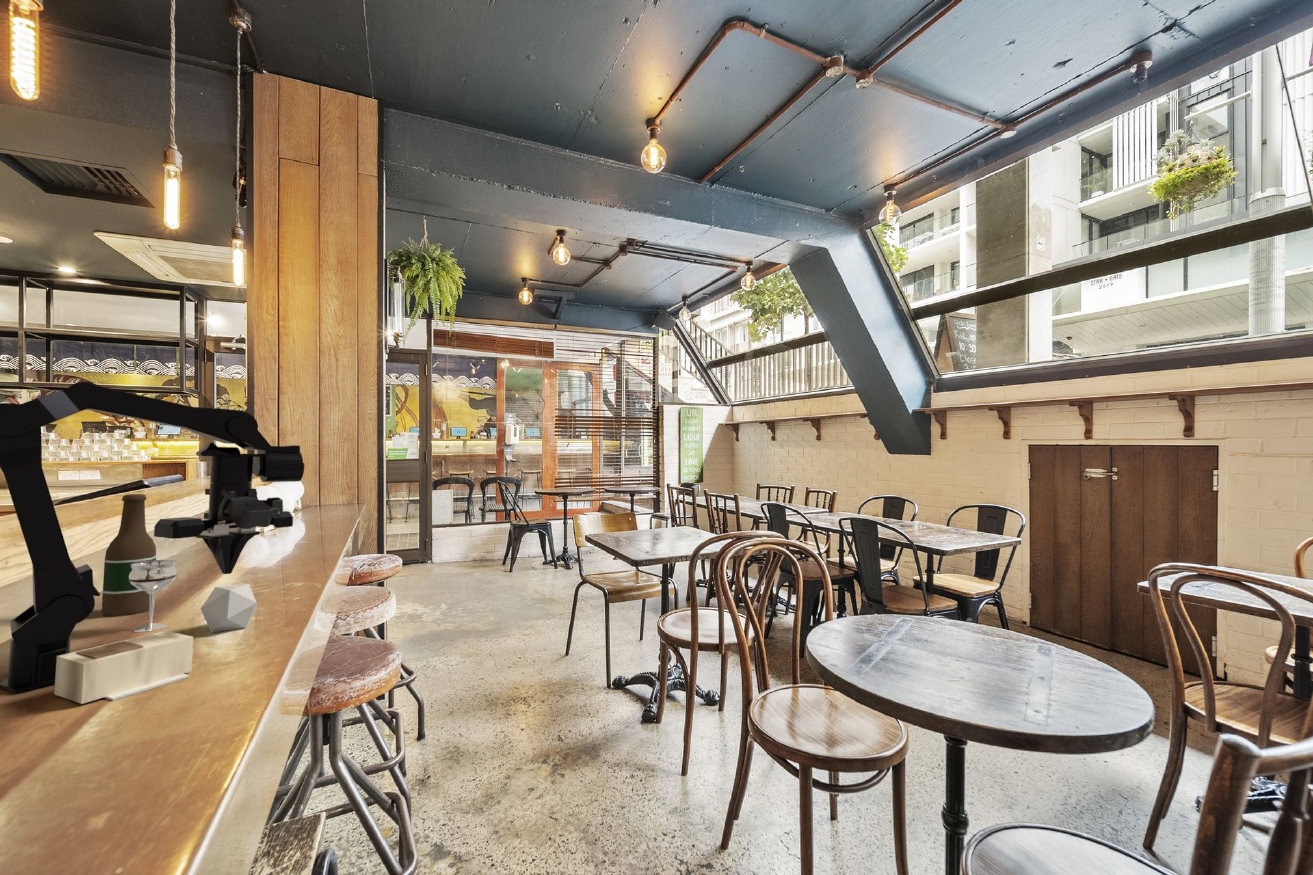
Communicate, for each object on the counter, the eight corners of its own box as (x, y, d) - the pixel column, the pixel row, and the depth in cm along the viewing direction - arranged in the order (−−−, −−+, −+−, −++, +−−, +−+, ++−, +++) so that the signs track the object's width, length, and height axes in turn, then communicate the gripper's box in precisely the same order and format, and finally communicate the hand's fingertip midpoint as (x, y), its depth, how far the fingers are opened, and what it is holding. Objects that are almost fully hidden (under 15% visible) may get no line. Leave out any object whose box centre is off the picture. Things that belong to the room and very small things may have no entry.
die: (261, 622, 108) (233, 583, 108) (275, 607, 103) (245, 566, 103) (215, 648, 101) (185, 607, 101) (227, 634, 96) (195, 590, 96)
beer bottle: (148, 604, 117) (154, 492, 118) (158, 610, 112) (164, 494, 113) (97, 612, 111) (104, 494, 112) (105, 619, 106) (112, 496, 107)
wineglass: (182, 621, 106) (185, 558, 106) (163, 631, 99) (166, 565, 100) (138, 623, 103) (142, 560, 104) (116, 634, 97) (120, 567, 98)
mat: (73, 687, 75) (74, 685, 75) (150, 666, 83) (150, 664, 83) (112, 700, 71) (112, 698, 71) (189, 677, 79) (189, 675, 79)
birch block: (164, 663, 83) (54, 694, 72) (166, 629, 83) (56, 654, 72) (191, 670, 81) (81, 703, 69) (193, 635, 81) (84, 662, 70)
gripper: (196, 486, 82) (191, 590, 82) (314, 482, 100) (311, 568, 99) (154, 484, 87) (149, 582, 86) (275, 480, 104) (271, 563, 103)
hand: (227, 573), depth 93 cm, fingers closed
